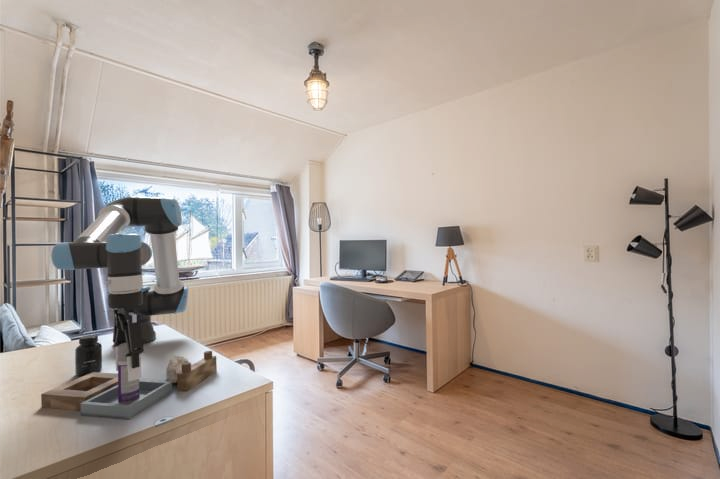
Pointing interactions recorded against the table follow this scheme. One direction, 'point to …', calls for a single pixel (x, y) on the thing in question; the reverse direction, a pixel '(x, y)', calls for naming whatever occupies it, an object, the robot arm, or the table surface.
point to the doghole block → (79, 391)
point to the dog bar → (196, 372)
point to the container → (126, 379)
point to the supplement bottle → (88, 355)
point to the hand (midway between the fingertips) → (128, 374)
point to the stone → (174, 367)
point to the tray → (111, 408)
